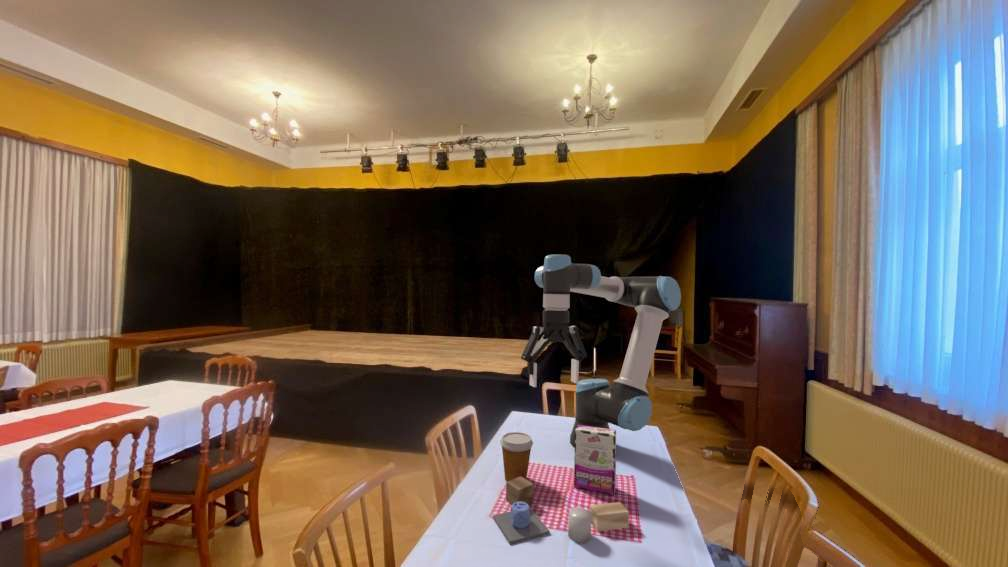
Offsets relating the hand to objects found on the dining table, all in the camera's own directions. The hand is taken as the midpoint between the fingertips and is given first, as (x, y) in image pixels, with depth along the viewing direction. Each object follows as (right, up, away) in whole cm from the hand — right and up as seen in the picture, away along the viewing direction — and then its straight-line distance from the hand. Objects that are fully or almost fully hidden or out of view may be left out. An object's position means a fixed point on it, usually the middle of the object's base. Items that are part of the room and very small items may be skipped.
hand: (554, 384), depth 107 cm
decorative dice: (-10, -28, -18) cm, 35 cm away
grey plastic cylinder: (+3, -29, -21) cm, 36 cm away
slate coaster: (-10, -28, -18) cm, 35 cm away
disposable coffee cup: (-11, -29, +3) cm, 31 cm away
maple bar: (+11, -29, -17) cm, 35 cm away
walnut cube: (-10, -29, -9) cm, 31 cm away
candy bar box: (+11, -29, -1) cm, 31 cm away
